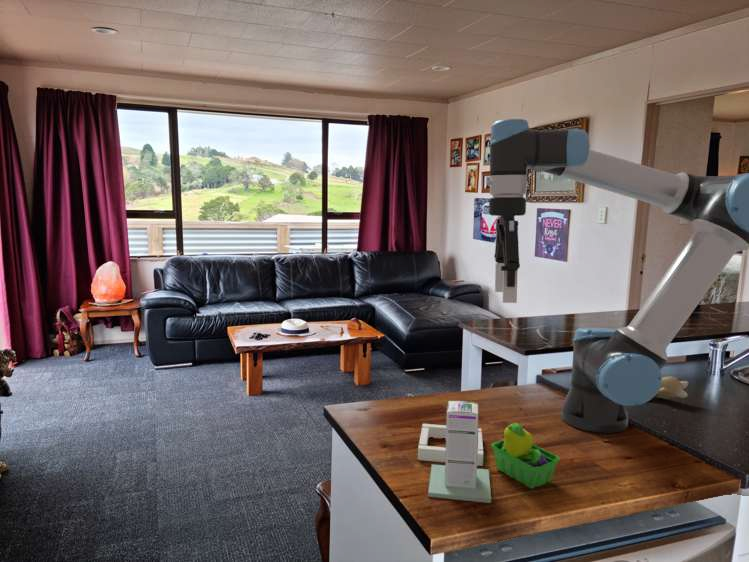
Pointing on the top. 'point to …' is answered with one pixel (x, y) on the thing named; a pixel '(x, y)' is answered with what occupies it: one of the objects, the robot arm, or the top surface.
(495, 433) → the top surface
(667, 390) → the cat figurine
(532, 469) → the fruit basket
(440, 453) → the white open square frame
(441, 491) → the mat
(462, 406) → the syrup box
